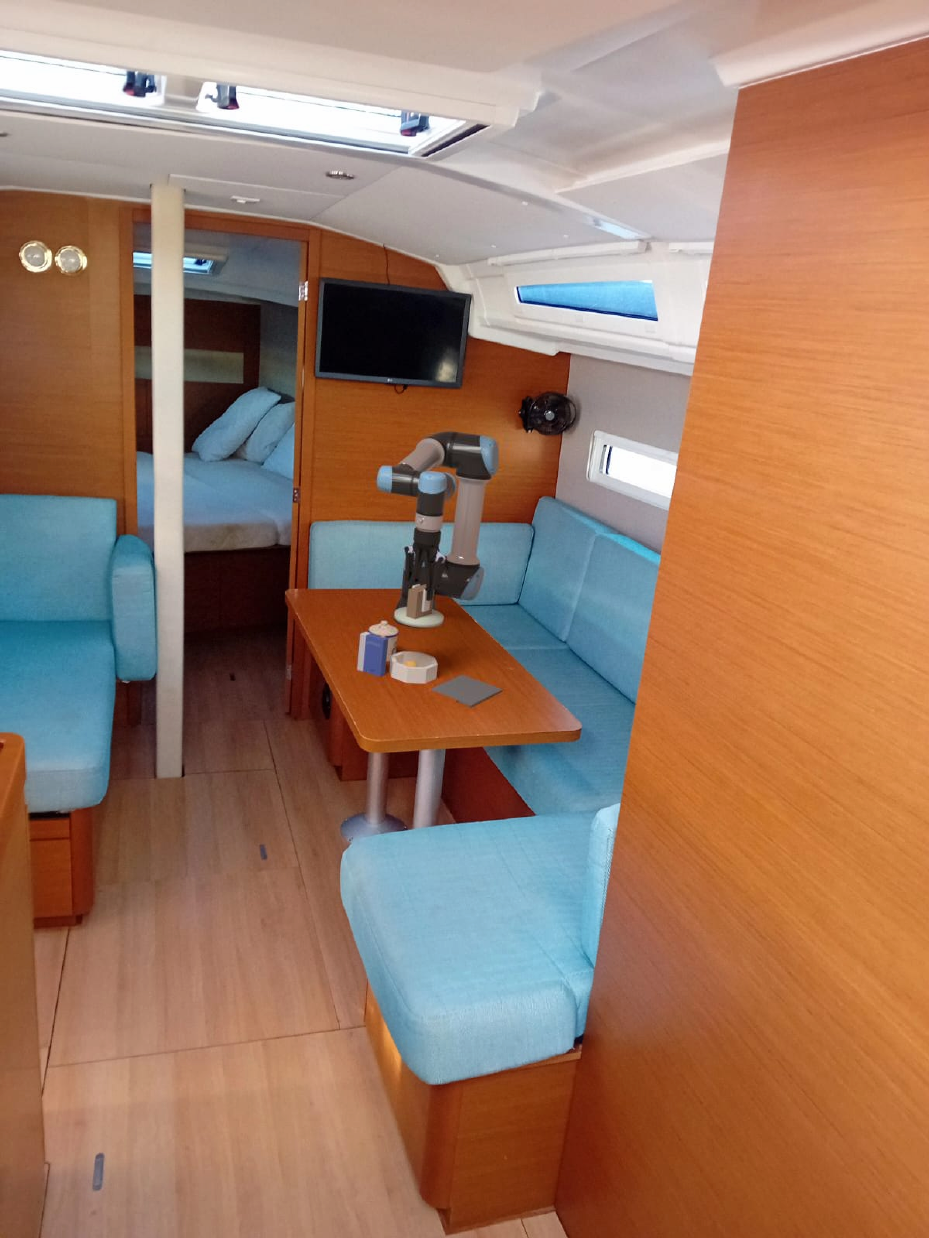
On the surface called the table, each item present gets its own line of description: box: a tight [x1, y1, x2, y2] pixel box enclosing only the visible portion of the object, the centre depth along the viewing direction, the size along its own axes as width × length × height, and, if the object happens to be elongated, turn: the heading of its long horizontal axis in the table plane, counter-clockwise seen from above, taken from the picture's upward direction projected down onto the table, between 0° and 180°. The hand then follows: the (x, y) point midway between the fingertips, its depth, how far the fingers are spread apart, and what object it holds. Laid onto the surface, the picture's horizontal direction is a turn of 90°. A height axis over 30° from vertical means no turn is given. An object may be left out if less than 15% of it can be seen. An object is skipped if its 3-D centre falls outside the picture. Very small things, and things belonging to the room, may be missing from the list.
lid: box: [393, 584, 445, 629], centre depth 264 cm, size 14×14×9 cm
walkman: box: [356, 631, 388, 677], centre depth 267 cm, size 8×3×12 cm, turn 64°
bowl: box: [388, 650, 439, 685], centre depth 270 cm, size 13×13×5 cm
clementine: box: [405, 661, 418, 667], centre depth 270 cm, size 4×4×4 cm
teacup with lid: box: [367, 620, 399, 662], centre depth 281 cm, size 12×9×12 cm
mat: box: [430, 674, 503, 708], centre depth 265 cm, size 16×14×1 cm
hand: (419, 608), depth 264 cm, fingers closed on lid, 3 cm apart
